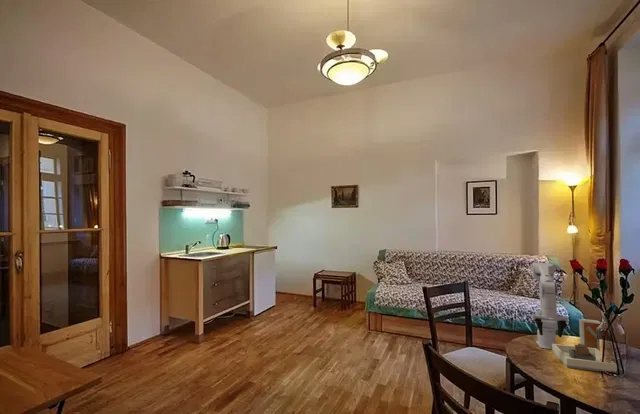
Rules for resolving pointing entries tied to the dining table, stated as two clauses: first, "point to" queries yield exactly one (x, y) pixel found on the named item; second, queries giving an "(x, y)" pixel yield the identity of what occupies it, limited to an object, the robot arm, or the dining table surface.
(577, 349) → the peg
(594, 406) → the dining table surface
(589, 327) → the small box
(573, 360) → the cream square tray
